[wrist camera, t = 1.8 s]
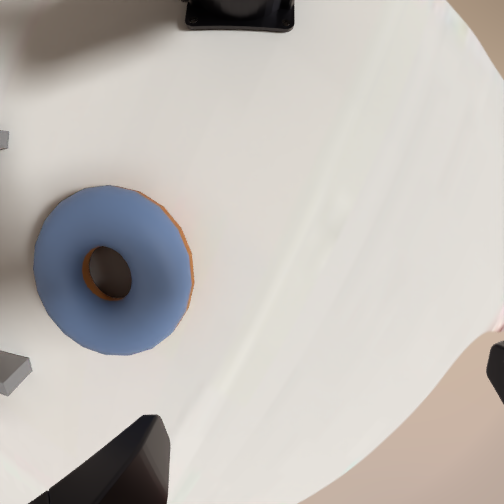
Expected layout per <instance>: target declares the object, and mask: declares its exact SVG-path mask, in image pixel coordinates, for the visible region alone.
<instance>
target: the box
mask: <svg viewBox="0 0 504 504" xmlns="http://www.w3.org/2000/svg"><path fill="white" fill-rule="evenodd" d="M8 138H9V132H8V131H2V130H0V150H1V149H6V148H8ZM31 372H32V368H31V364H30V360H29V358H26V357H22V356H18V355H14V354H10V353H6V352H3V351H0V394H3V395H6V396H9V395H10V394H11V393H12V392H13V391H14V390H15V388H16V387H17V386H18V385H19V384H20V383H21V382H22V381H23V380H24V379H25V378H26V377H27V376H28V375H29V374H30V373H31Z"/></svg>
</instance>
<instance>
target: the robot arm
mask: <svg viewBox="0 0 504 504" xmlns="http://www.w3.org/2000/svg"><path fill="white" fill-rule="evenodd" d="M181 1H182V2H188V4H187V11H186V18H185V23H186V26H187V27H188V28H190V29H252V30H269V31H281V32H289V31H291V30H292V29H293V26H294V0H181ZM194 19H195V20H197V22H196V23H190V22H191V21H192V20H194ZM283 22H287V23H288V24H289V26H284V25H283V24H282V23H283ZM486 373H487V376H488V378H489V380H490V382H491V383H492V385H493V387H494V388H495V390H496V392H497V393H498V395H499V397H500V399H501V401H502V402H503V404H504V341H500V342H498V343H496V344H494V345H493V346H492V347H491V350H490V354H489V359H488V364H487V369H486ZM169 462H170V439H169V436H168V434H167V431H166V429H165V426H164V424H163V421H162V419H161V417H160V416H159V415H143V416H141V417H140V418H139V419H137V420H136V421H135V422H134V423H133V424H131V425H130V426H129V427H128V428H126V429H125V430H124V431H123V432H122V433H120V434H119V435H118V436H117V437H115V438H114V439H113V440H112V441H110V442H109V443H108V444H107V445H105V446H104V447H103V448H102V449H100V450H99V451H98V452H97V453H95V454H94V455H93V456H92V457H90V458H89V459H88V460H86V461H85V462H84V463H83V464H81V465H80V466H79V467H77V468H76V469H75V470H74V471H72V472H71V473H70V474H68V475H67V476H66V477H64V478H63V479H62V480H60V481H59V482H58V483H56V484H55V485H54V486H52V487H51V488H50V489H49V491H45V492H44V493H43V494H41V495H40V496H39V497H37V498H36V499H34V500H33V501H31V502H30V503H28V504H167V498H168V483H169Z"/></svg>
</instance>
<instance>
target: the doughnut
mask: <svg viewBox="0 0 504 504" xmlns="http://www.w3.org/2000/svg"><path fill="white" fill-rule="evenodd" d="M100 246H105V247H108V248H112V249H113V250H115V251H116V252H118V253H119V254H120V255H121V256H122V257H123V258H124V259H125V261H126V262H127V264H128V266H129V269H130V271H131V278H132V284H131V290H130V291H129V293H128V295H126V296H125V297H123V298H113V297H110V296H107V295H106V294H104V293H103V292H101V291H100V290H99V288H98V287H97V286H96V285H95V284H94V282H93V280H92V277H91V275H90V270H89V262H90V257H91V255H92V253H93V251H94V250H95V249H96V248H98V247H100ZM33 270H34V276H35V281H36V286H37V291H38V294H39V296H40V299H41V301H42V303H43V305H44V307H45V309H46V311H47V313H48V315H49V316H50V317H51V319H52V320H53V321H54V322H55V323H56V325H57V326H58V327H59V328H60V329H61V331H62V332H63V333H64V334H65V335H67V336H68V337H70V338H71V339H72V340H74V341H75V342H77V343H78V344H80V345H81V346H82V347H85V348H87V349H90V350H93V351H96V352H98V353H101V354H104V355H132V354H136V353H139V352H142V351H146V350H149V349H152V348H153V347H155V346H156V345H157V344H159V343H160V342H161V341H162V340H164V339H165V338H166V337H168V336H169V335H170V334H171V333H172V332H173V331H174V330H175V328H176V327H177V325H178V324H179V322H180V321H181V319H182V318H183V316H184V314H185V313H186V311H187V310H188V308H189V304H190V300H191V295H192V291H193V286H194V273H193V262H192V253H191V250H190V248H189V246H188V243H187V241H186V238H185V236H184V234H183V231H182V229H181V227H180V226H179V225H178V224H177V222H176V221H175V220H174V219H173V217H172V216H171V215H170V214H169V213H168V211H167V210H166V209H165V208H164V207H163V206H162V205H160V204H158V203H157V202H155V201H154V200H152V199H151V198H149V197H148V196H146V195H144V194H143V193H141V192H139V191H135V190H131V189H126V188H122V187H118V186H111V185H106V186H99V187H91V188H85V189H83V190H80V191H79V192H77V193H75V194H73V195H71V196H70V197H68V198H66V199H64V200H63V201H61V202H60V203H59V204H58V205H57V206H56V207H55V209H54V210H53V211H52V212H51V213H50V215H49V216H48V217H47V218H46V219H45V221H44V223H43V226H42V228H41V231H40V234H39V236H38V239H37V241H36V244H35V252H34V265H33Z"/></svg>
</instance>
